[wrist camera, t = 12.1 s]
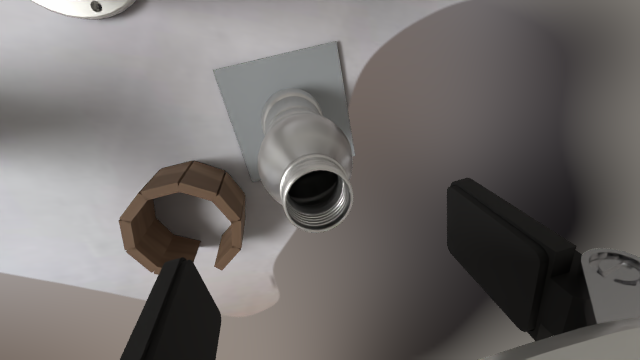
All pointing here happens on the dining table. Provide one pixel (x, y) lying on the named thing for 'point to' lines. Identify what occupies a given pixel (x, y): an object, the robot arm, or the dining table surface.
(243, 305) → the dining table surface
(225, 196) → the ring holder
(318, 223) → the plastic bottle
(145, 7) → the dining table surface
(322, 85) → the rubber mat
